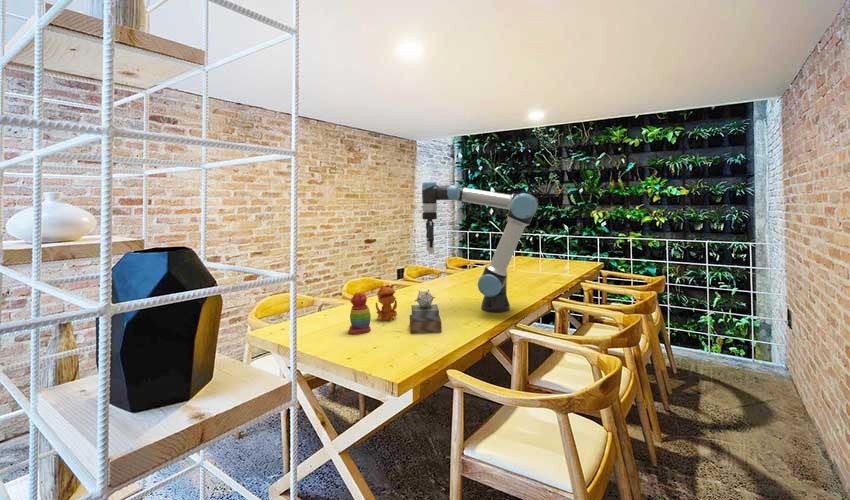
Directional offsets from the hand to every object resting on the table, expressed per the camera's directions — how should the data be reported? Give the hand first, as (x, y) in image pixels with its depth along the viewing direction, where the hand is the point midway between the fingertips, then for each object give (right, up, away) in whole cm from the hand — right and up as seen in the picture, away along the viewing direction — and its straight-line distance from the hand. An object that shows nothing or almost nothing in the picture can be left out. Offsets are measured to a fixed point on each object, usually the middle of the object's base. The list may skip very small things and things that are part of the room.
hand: (430, 252), depth 230 cm
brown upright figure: (-22, -34, -11) cm, 42 cm away
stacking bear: (-33, -36, -30) cm, 57 cm away
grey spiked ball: (-3, -26, -29) cm, 39 cm away
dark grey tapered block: (-3, -35, -28) cm, 45 cm away
